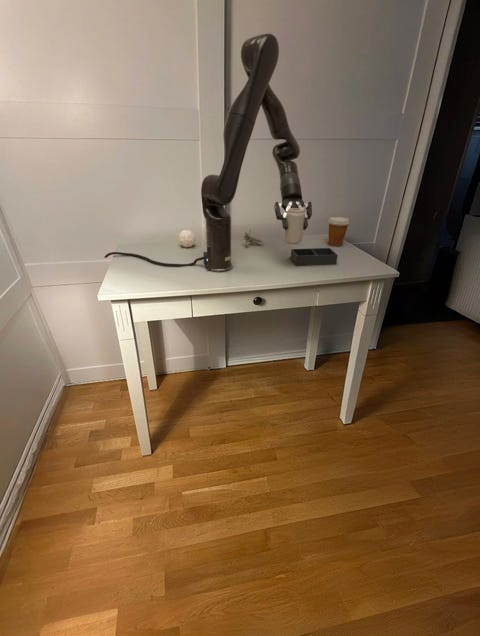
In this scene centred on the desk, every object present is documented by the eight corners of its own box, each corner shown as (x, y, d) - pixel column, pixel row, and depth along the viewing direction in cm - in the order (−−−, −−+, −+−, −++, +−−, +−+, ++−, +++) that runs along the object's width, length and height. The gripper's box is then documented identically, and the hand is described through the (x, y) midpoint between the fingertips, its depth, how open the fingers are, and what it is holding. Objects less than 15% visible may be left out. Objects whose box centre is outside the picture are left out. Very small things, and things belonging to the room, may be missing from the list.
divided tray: (295, 266, 125) (297, 256, 123) (290, 258, 132) (291, 249, 130) (336, 264, 127) (337, 254, 125) (328, 257, 134) (329, 247, 132)
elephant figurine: (261, 249, 142) (243, 242, 140) (257, 255, 148) (239, 248, 146) (265, 231, 146) (247, 224, 144) (261, 237, 151) (243, 230, 149)
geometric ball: (186, 251, 147) (185, 234, 148) (199, 247, 143) (198, 230, 144) (174, 246, 141) (174, 229, 142) (188, 242, 137) (187, 225, 137)
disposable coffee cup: (339, 248, 143) (344, 222, 137) (321, 244, 149) (324, 218, 143) (348, 244, 150) (353, 218, 143) (330, 240, 155) (334, 215, 149)
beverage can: (300, 240, 120) (304, 207, 114) (302, 245, 114) (306, 211, 108) (284, 239, 120) (287, 207, 114) (284, 244, 115) (287, 211, 109)
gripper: (273, 182, 113) (278, 223, 109) (312, 182, 114) (318, 223, 110) (269, 195, 120) (274, 234, 116) (306, 194, 121) (311, 233, 117)
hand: (295, 228), depth 113 cm, fingers closed on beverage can, 6 cm apart
